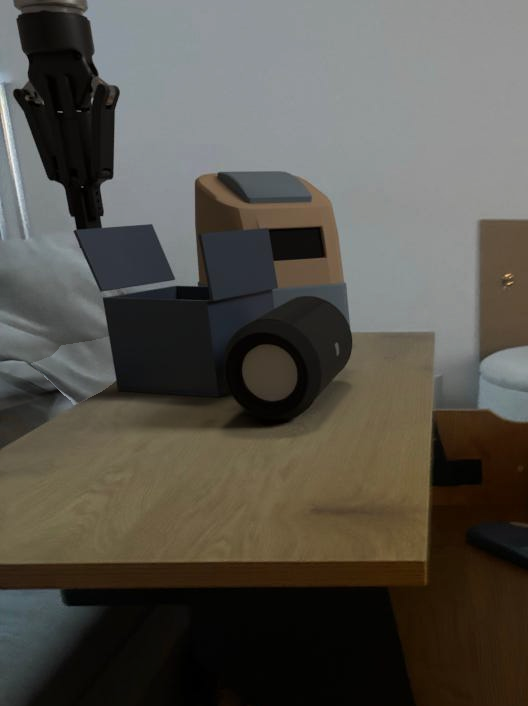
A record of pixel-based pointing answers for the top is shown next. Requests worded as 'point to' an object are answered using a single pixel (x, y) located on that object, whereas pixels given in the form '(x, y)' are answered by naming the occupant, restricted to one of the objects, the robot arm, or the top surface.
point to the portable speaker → (287, 357)
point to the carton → (192, 319)
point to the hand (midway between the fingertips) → (92, 247)
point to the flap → (124, 256)
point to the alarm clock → (277, 229)
